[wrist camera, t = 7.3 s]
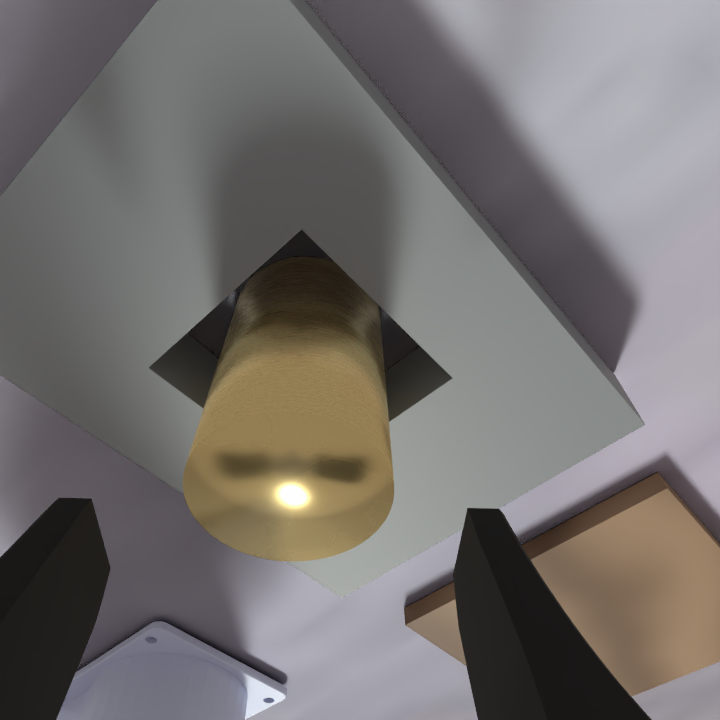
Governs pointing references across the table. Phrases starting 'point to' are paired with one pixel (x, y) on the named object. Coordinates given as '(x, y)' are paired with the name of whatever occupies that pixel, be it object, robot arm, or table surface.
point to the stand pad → (620, 586)
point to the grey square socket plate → (259, 243)
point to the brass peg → (295, 419)
